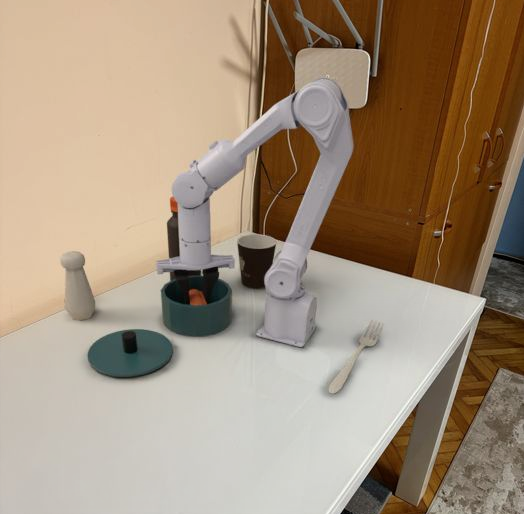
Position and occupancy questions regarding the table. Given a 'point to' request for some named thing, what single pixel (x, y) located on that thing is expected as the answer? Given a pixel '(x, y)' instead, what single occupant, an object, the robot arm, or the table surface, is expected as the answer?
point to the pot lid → (130, 352)
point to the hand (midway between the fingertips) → (196, 303)
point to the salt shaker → (77, 287)
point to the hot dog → (196, 297)
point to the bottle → (175, 237)
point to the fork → (354, 359)
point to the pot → (196, 308)
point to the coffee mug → (255, 258)
